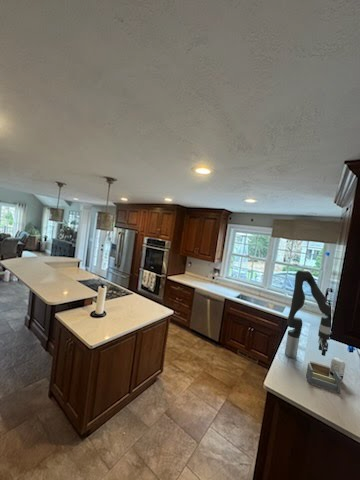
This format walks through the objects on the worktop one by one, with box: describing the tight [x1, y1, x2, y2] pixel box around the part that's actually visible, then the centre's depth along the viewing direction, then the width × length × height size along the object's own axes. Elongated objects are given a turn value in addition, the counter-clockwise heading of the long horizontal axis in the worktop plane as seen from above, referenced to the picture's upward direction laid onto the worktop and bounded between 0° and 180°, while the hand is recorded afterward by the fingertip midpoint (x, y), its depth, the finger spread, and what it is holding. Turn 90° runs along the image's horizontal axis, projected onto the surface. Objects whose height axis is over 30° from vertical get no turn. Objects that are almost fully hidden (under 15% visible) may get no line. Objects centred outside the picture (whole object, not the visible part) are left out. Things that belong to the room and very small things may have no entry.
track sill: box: [305, 362, 342, 394], centre depth 148 cm, size 9×18×10 cm, turn 69°
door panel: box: [309, 361, 330, 377], centre depth 157 cm, size 3×12×9 cm, turn 69°
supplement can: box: [329, 356, 346, 383], centre depth 156 cm, size 8×8×15 cm
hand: (321, 352), depth 157 cm, fingers open, 8 cm apart
